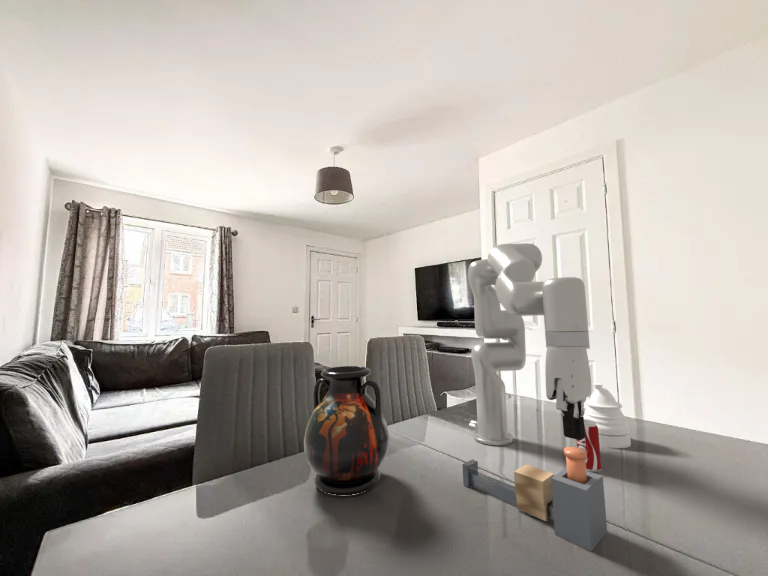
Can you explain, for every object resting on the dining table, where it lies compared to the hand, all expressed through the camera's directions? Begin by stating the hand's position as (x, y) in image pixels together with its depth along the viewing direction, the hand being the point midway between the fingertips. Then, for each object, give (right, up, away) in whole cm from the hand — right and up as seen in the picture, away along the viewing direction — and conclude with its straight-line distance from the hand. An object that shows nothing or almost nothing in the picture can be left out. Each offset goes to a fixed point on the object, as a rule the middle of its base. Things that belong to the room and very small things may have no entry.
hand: (574, 437), depth 63 cm
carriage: (-5, -18, +5) cm, 19 cm away
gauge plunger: (0, -9, -1) cm, 9 cm away
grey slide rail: (-8, -18, +9) cm, 22 cm away
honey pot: (+35, -21, +43) cm, 59 cm away
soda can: (+18, -19, +24) cm, 36 cm away
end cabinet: (0, -17, -1) cm, 17 cm away
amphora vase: (-46, -21, +20) cm, 54 cm away
